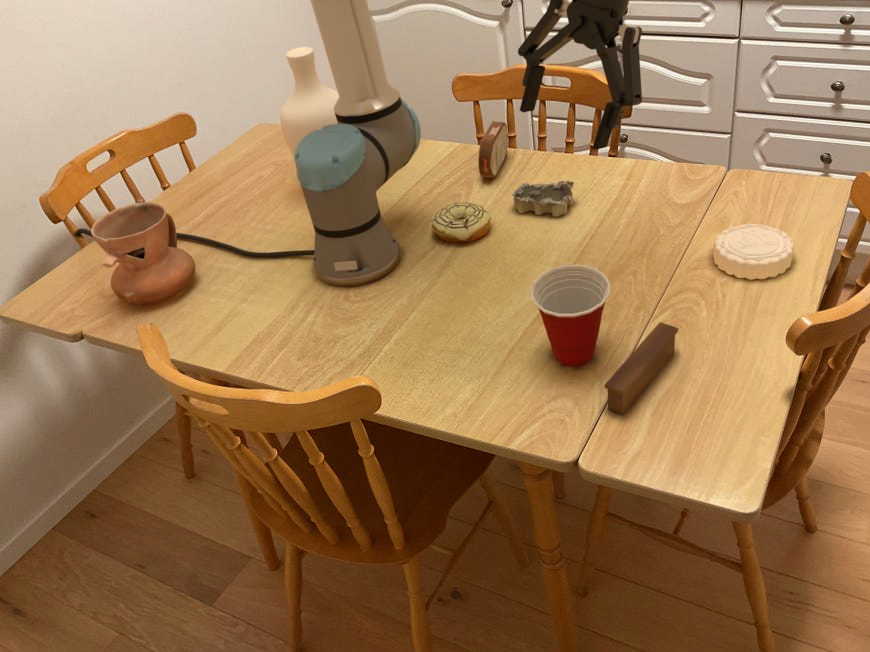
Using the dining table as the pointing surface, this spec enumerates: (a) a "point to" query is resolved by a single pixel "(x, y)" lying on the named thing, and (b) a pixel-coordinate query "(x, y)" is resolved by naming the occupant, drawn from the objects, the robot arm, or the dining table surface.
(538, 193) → the egg carton
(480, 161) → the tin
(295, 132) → the vase
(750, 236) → the mooncake
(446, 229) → the decorated donut
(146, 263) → the ceramic jug
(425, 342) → the dining table surface
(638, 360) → the walnut rail
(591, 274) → the plastic cup
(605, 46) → the robot arm
